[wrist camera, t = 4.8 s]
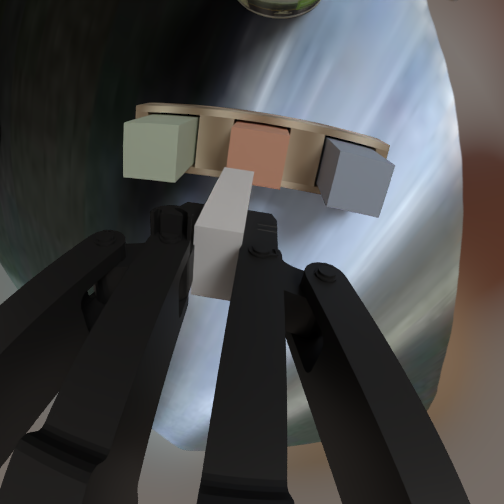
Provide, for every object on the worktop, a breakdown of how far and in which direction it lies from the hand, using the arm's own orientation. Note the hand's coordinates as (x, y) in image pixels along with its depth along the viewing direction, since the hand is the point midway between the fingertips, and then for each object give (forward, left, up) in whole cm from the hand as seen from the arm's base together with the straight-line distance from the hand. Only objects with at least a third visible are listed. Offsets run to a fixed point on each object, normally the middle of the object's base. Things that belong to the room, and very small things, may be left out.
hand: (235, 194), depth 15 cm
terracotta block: (+1, -1, -18) cm, 18 cm away
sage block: (-8, -1, -16) cm, 18 cm away
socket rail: (+1, -1, -19) cm, 19 cm away
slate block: (+10, -1, -16) cm, 19 cm away
